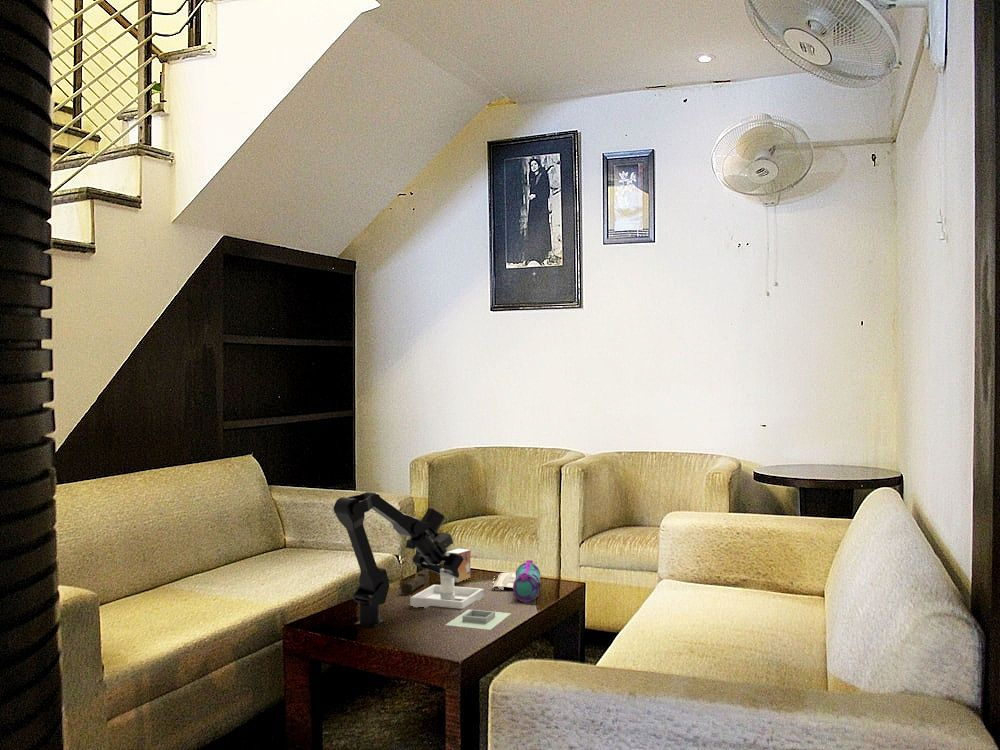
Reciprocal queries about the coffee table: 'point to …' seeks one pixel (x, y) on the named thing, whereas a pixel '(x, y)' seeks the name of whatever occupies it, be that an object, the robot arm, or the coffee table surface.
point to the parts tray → (433, 599)
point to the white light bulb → (447, 586)
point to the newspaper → (504, 580)
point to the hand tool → (414, 583)
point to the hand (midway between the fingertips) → (450, 575)
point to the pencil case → (527, 582)
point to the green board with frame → (478, 619)
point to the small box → (462, 564)
